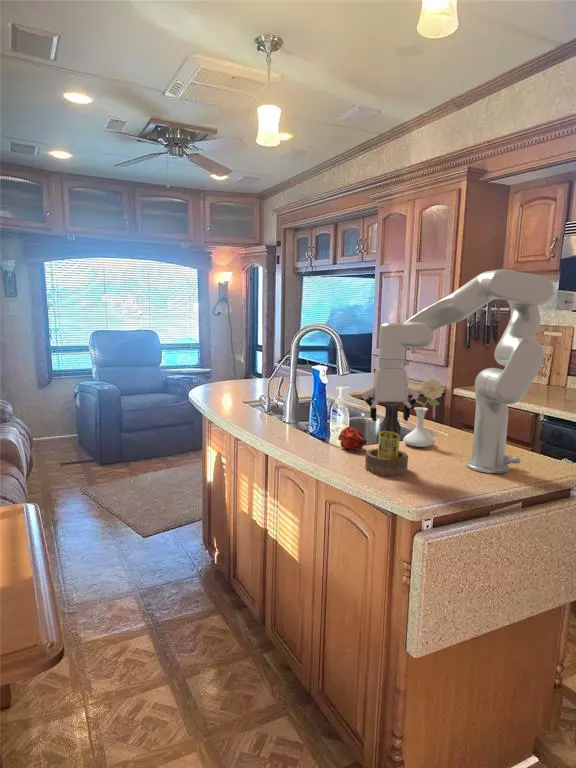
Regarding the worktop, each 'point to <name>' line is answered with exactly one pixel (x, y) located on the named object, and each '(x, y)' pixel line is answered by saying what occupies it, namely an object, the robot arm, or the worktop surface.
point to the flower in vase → (419, 434)
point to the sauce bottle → (389, 433)
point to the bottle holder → (386, 464)
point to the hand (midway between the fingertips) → (389, 420)
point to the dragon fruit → (351, 438)
